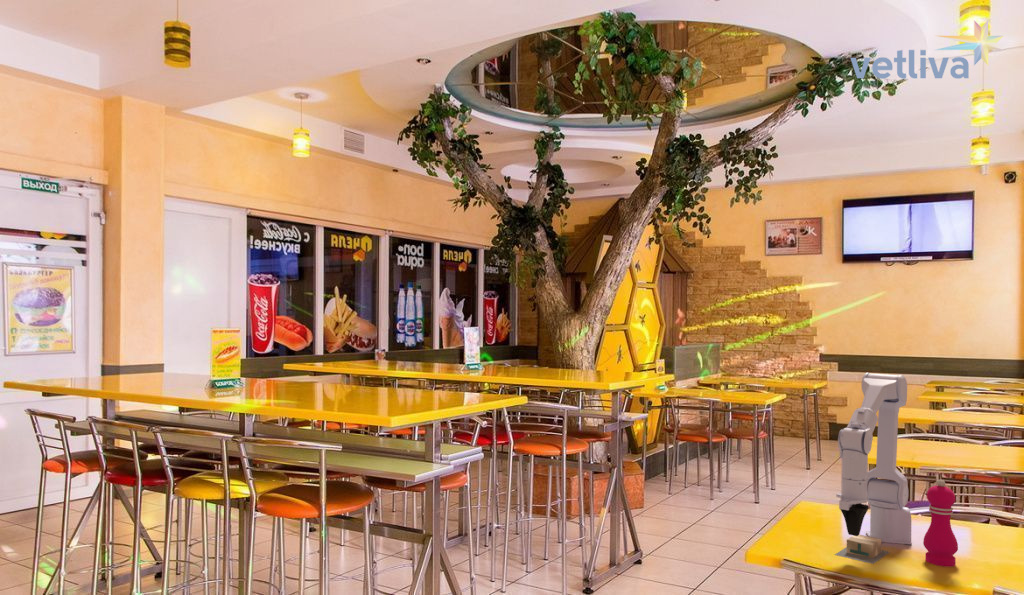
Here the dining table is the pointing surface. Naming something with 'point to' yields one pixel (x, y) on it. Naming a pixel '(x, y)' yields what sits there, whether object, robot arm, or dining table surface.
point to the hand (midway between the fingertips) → (853, 534)
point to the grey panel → (861, 558)
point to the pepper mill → (940, 527)
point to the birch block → (864, 546)
